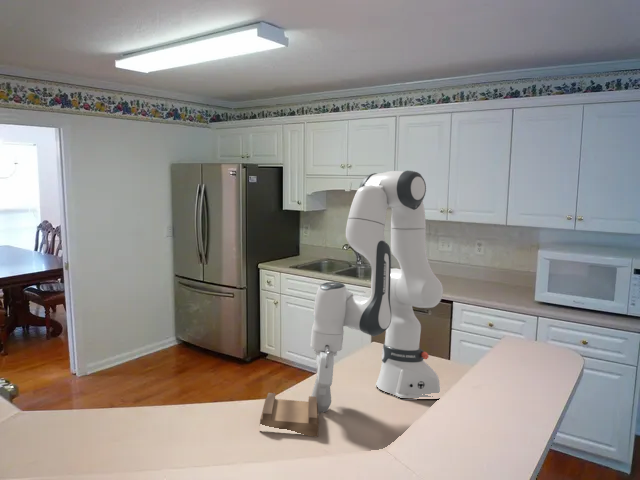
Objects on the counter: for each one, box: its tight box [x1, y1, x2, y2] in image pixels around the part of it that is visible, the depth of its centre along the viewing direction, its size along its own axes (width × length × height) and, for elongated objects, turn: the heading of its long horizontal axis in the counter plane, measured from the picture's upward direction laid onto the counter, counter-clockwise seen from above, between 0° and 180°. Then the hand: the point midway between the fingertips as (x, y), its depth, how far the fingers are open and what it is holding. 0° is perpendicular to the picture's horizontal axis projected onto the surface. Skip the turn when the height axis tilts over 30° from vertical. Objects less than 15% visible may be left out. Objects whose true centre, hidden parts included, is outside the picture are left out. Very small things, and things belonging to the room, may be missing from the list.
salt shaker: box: [311, 363, 332, 414], centre depth 128 cm, size 6×6×13 cm
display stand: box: [259, 392, 320, 438], centre depth 118 cm, size 14×14×4 cm
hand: (321, 391), depth 128 cm, fingers closed on salt shaker, 3 cm apart
